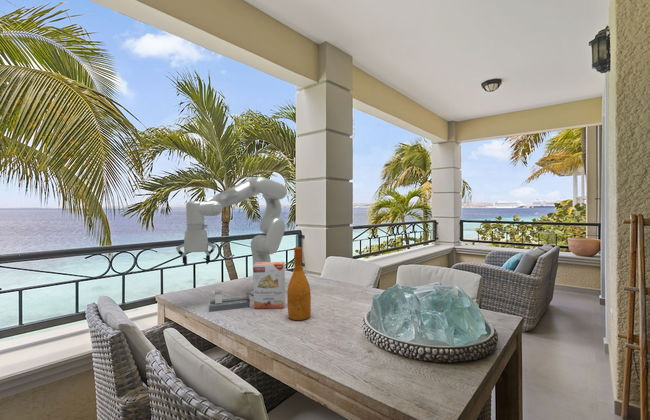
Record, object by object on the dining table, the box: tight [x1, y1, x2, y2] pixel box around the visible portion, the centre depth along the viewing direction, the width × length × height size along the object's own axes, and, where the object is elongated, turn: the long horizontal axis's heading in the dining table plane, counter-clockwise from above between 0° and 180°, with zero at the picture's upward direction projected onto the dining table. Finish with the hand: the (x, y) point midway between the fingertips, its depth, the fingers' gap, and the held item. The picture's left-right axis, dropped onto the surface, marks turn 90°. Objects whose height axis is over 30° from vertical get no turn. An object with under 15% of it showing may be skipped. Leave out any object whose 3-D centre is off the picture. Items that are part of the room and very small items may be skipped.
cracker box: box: [252, 261, 286, 310], centre depth 147 cm, size 14×6×21 cm, turn 90°
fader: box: [214, 290, 223, 304], centre depth 148 cm, size 3×5×5 cm, turn 17°
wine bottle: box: [286, 246, 312, 321], centre depth 133 cm, size 10×10×30 cm
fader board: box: [208, 292, 251, 313], centre depth 149 cm, size 18×10×4 cm, turn 107°
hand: (196, 264), depth 146 cm, fingers open, 9 cm apart
